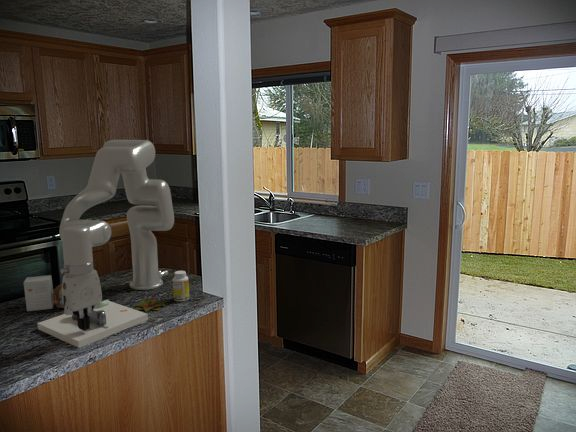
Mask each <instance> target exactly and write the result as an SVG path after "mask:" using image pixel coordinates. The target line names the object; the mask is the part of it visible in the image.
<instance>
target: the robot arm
mask: <svg viewBox="0 0 576 432" xmlns="http://www.w3.org/2000/svg"><path fill="white" fill-rule="evenodd" d="M155 157H156V148H155V145H154V143H153V142H151V141H150V140H147V139H111V140H107V141H105V142H104V144H103V146H102V147H101V148H100V149H98V150H97V152H96V154H95V157H94V160H93V164H92V167H91V170H90V171H91V172H90V173H89V174H90V176H89V178H88V181H87V185H86V187H85V188H84V189H83V190H80V192H79V193H77V194H76V195H75V196H74V198H72V200H71V201H69V203H68V204H67V205H66V206H65V209H64V211H63V214H62V218H61V221H60V224H59V239H60V240H61V242H62V243H61V244H62V256H63V268H61V269H60V271H59V272H60V274H62V275H63V274H64V275H63V276H62V282H61V284H62V304H63V307H64V308H63V309H64V310H63V314H65V315H75V316H76V317H77V322H78V327H79V329H81V330H84V331H85V330H87V329H90V315H91V313H92V310H93V309H94V307H96V306H98V305H99V304H100V302H102V301H103V293H102V286H101V281H100V277H99V275H98V271H97V270H96V269H95V268H94V257H93V248H94V247H99V246H102V245H105V244H106V243H108V241H109V240H110V239H111V238H112V237H111V236H112V227H111V226H110V224H109V223H108V222H106V221H104V220H99V219H98V220H97V219H80V218H81V216H82V215H83V214H84V213H85V212H86V211H88V210H89V209H90V208H92V207H94V206H96V205H99V204H102V203H104V202H106V201H109V200H110V199H112V198H113V197H114V196H116V192H117V189H118V188H117V187H118V183H119V179H120V176H122V180H123V186H124V191H125V195H126V199H127V201H128V203H130V204H132V205H135V206H132V207H130V208H129V209H128V210H127V212H126V221H127V225H128V230H129V235H130V243H131V244H130V246H131V247H130V248H131V260H132V263H131V265H132V278H133V279H132V280H131V281H130V282H129V287H130V288H131V289H132V290H136V291H137V290H139V291H145V290H146V291H147V290H153V289H157V288H159V287H161V286H162V285H163V284H164V281H163V279H162V278H163V277H164V276H168V275H169V271H168V270H163V271H162V270H159V259H158V242H157V241H158V240H157V237H156V236H155V234H154V233H153V231H156V232H157V231H159V232H161V231H163V232H165V231H166V232H167V231H170V230H171V229H172V228H173V227H174V224H175V214H174V207H173V201H172V193H171V188H170V186H169V184H168V182H166V181H165V180H163V179H152V178H151V179H150V178H149V177H148V175H147V174H148V173H147V167H150V165H151V164H153V162H154V161H155Z"/></svg>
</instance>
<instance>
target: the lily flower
mask: <svg viewBox="0 0 576 432" xmlns="http://www.w3.org/2000/svg"><path fill="white" fill-rule="evenodd" d="M144 296H145V298H143V300H140V302H139V303H136V304H134V305H133V307H135V309H134V310H137V311H141V310H144V311H145V313H147V312H149V311H150V310H151V311H152V310H153V311H159V312H160V311H161V307H167V305H166V304H165V303H166V302H167V301H165V300H163V301H162V300H157V299H156V293H154V295H153V296H150V297H149V295H144ZM146 298H147V300H146Z"/></svg>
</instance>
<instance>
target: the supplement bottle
mask: <svg viewBox="0 0 576 432" xmlns="http://www.w3.org/2000/svg"><path fill="white" fill-rule="evenodd" d="M172 291H173V295H172V296H173V300H174V301H175V302H186V301H188V300H189V298H190V285H189V277H188V275H187V273H186V271H185V270H177V271H175V272H174V276H173V277H172Z"/></svg>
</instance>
